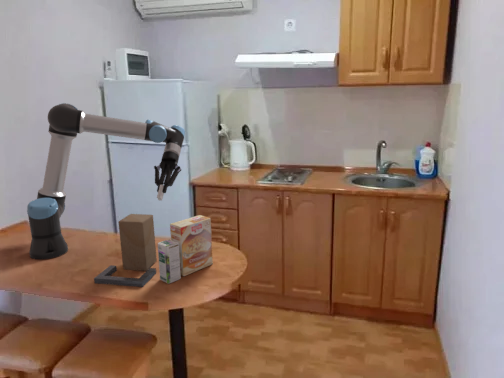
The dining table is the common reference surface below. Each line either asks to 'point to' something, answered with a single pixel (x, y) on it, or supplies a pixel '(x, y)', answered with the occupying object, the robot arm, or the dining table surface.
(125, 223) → the wooden block
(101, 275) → the dock
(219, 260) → the dining table surface
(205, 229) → the coffeecake box
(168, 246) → the syrup box
